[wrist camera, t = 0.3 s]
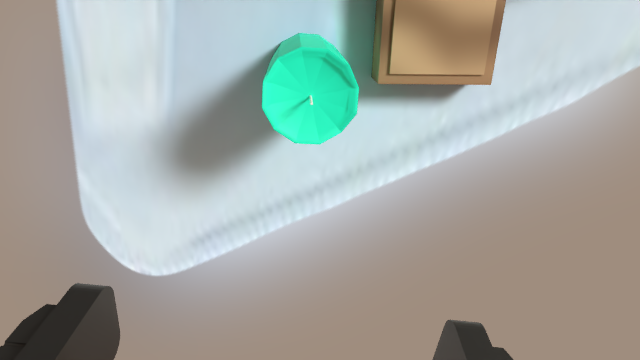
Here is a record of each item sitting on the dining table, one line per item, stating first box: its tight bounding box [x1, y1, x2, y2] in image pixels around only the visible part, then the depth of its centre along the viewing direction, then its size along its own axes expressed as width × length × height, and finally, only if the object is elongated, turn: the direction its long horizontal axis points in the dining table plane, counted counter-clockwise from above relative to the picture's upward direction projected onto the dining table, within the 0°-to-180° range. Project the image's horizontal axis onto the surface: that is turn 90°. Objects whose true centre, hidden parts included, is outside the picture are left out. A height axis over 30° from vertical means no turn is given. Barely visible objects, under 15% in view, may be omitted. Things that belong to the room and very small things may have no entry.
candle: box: [262, 33, 359, 144], centre depth 29 cm, size 6×6×12 cm
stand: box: [372, 0, 506, 85], centre depth 32 cm, size 9×9×3 cm
